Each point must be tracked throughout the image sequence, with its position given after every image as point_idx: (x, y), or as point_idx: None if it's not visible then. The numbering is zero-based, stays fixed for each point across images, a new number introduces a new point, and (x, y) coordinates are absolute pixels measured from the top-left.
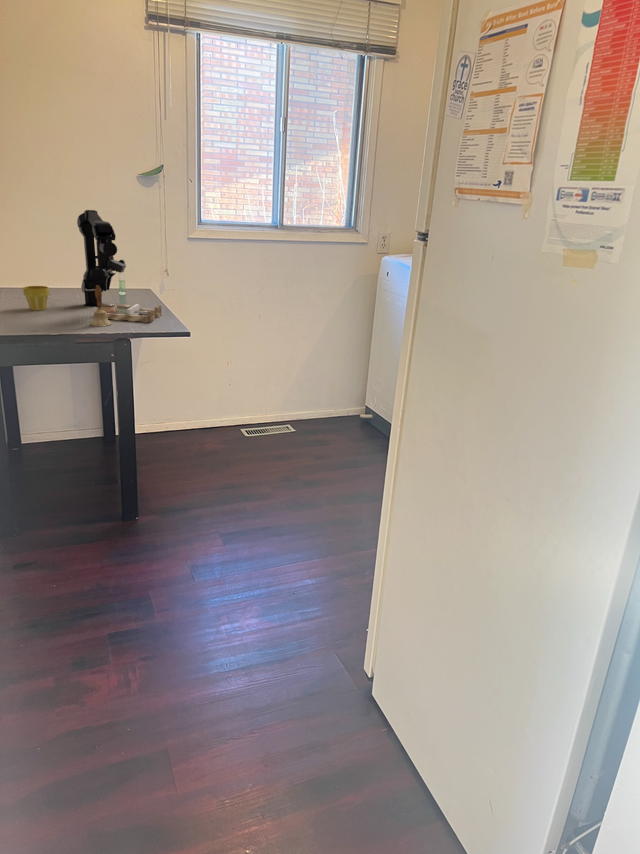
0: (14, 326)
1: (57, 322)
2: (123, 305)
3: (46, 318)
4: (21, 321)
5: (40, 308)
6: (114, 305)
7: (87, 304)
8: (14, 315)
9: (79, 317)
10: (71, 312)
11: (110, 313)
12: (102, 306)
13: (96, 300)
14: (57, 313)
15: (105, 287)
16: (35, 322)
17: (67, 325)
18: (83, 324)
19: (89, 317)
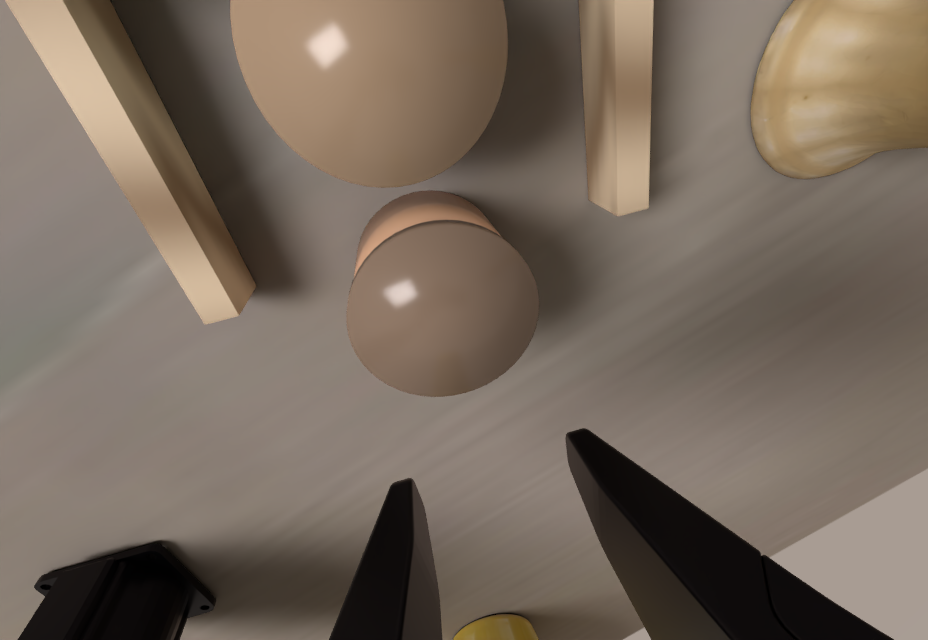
0: (912, 460)
1: (801, 385)
2: (381, 64)
3: (700, 487)
4: (796, 508)
5: (523, 626)
6: (417, 226)
7: (194, 598)
8: None
9: (610, 386)
10: (476, 511)
11: (621, 133)
12: (531, 318)
13: (116, 605)
14: (545, 535)
15: (654, 484)
16: (813, 458)
17: (892, 284)
18: (854, 210)
19: (582, 335)
